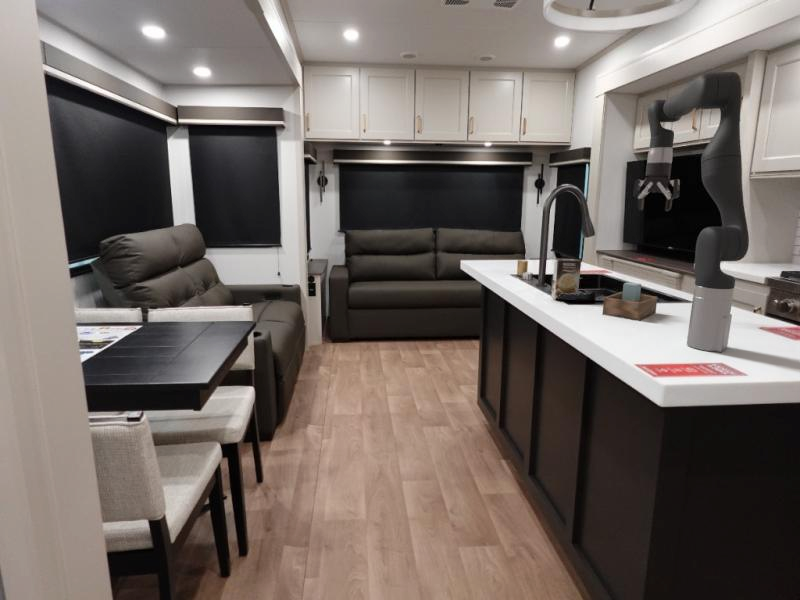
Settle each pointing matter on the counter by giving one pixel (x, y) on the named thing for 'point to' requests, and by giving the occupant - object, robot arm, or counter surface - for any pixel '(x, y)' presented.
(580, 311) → the counter surface
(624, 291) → the block
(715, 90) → the robot arm
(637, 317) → the crate
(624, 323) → the counter surface
